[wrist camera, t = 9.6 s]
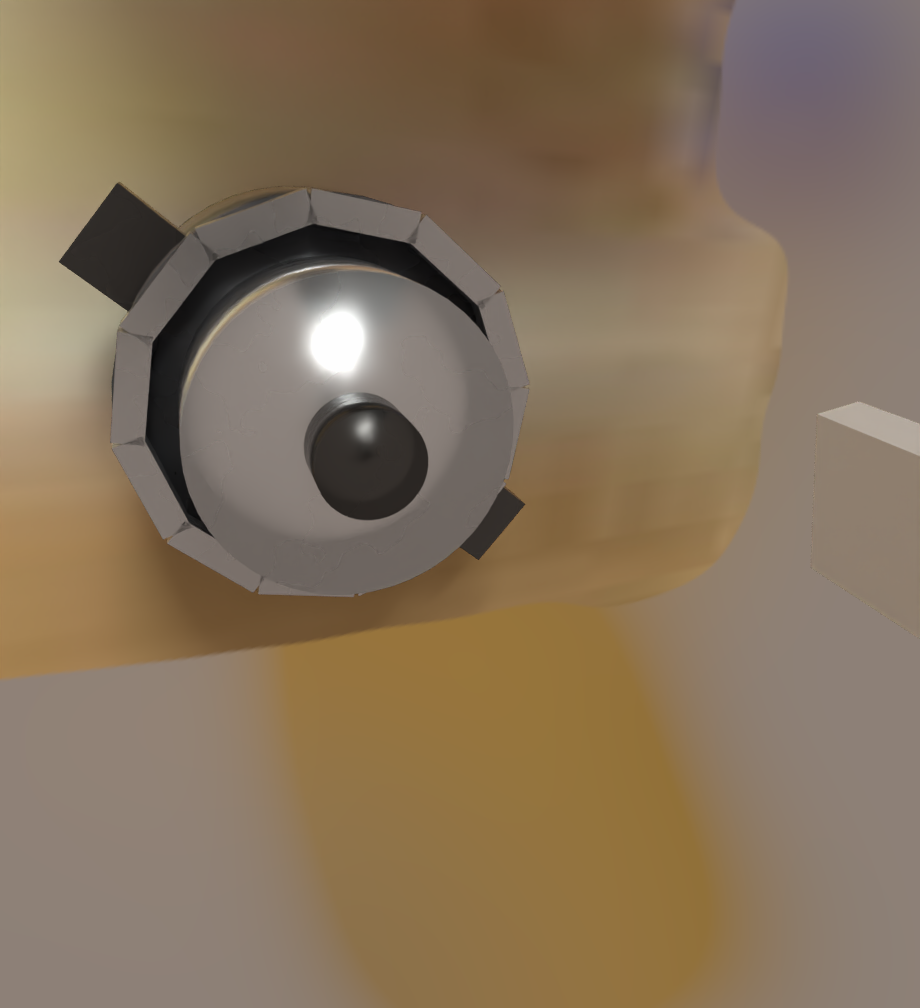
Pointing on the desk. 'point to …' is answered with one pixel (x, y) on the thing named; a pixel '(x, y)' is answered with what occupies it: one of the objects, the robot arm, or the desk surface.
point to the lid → (341, 425)
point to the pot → (218, 269)
